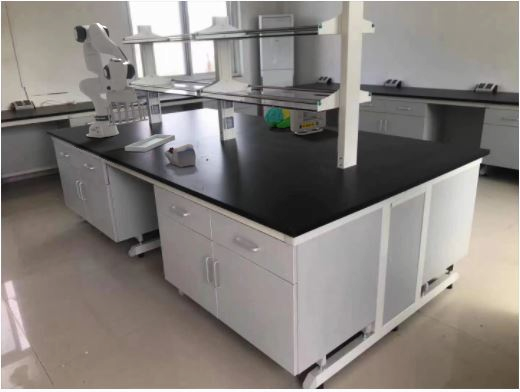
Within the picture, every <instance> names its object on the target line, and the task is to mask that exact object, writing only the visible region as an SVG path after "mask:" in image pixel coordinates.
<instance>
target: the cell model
mask: <svg viewBox="0 0 520 392" xmlns="http://www.w3.org/2000/svg"><path fill="white" fill-rule="evenodd" d="M164 156H165V157H166V158H167V160H168V161H169V163H170V164H172V165H175V166H176V167H179V168H184V167H189V166H190V167H191V166H195V165H196V164H197V163H196V162H197V161H196V156H197V155H196V151H195V149H194V146H193V144H192V143H188V144H187V143H186V144H185V145H184V144H183V145H181V146H178V147H175V148H174V147H173V146H171V147H169V148H168V149H167V150H165V151H164Z"/></svg>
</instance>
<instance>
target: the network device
mask: <svg viewBox="0 0 520 392" xmlns="http://www.w3.org/2000/svg"><path fill="white" fill-rule="evenodd" d="M290 123H291V126H290V131H292V132H294V134H295V135H300V136H301V135H308V134H314V133H318V132H322V131H324V129H323V128H325V127H326V124H327V110H326V111H324V112H319V113H312V112H304V111H296V110H290Z"/></svg>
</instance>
